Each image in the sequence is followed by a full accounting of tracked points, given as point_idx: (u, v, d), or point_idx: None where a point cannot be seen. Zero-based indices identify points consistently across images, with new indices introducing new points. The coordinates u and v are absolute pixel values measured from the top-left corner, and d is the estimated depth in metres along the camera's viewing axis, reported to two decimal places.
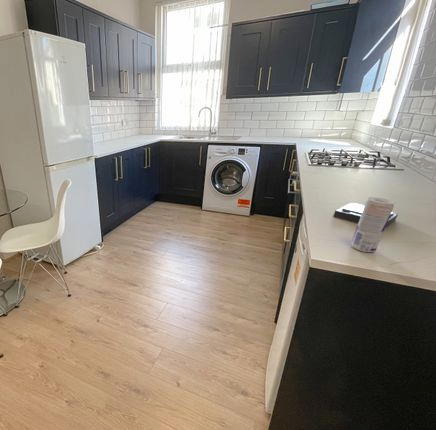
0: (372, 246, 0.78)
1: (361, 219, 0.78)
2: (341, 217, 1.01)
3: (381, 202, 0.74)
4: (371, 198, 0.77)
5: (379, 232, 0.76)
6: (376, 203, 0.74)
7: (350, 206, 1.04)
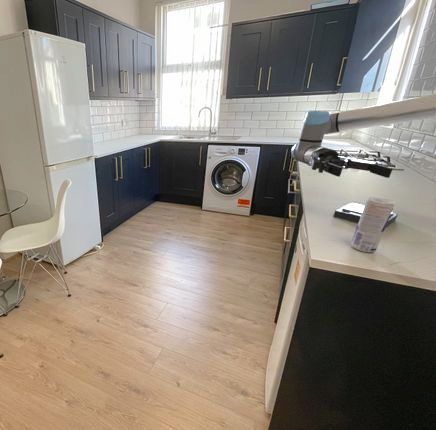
0: (372, 246, 0.78)
1: (361, 219, 0.78)
2: (341, 217, 1.01)
3: (381, 202, 0.74)
4: (371, 198, 0.77)
5: (379, 232, 0.76)
6: (376, 203, 0.74)
7: (350, 206, 1.04)
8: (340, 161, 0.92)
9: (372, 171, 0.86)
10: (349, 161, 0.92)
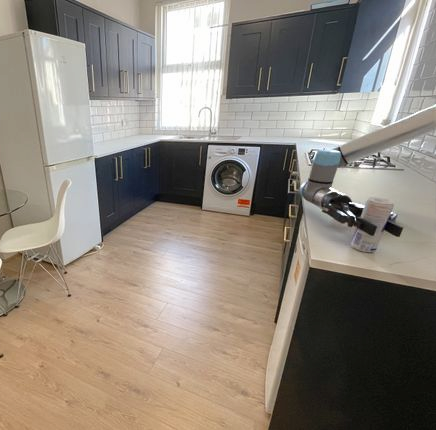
0: (372, 246, 0.78)
1: None
2: None
3: (381, 202, 0.74)
4: (371, 198, 0.77)
5: (379, 232, 0.76)
6: (376, 203, 0.74)
7: None
8: (353, 209, 0.86)
9: None
10: (359, 210, 0.85)
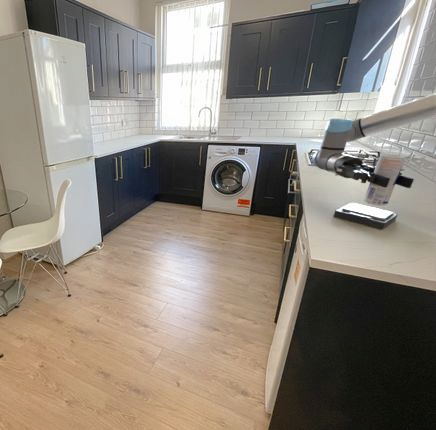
0: (384, 199, 0.84)
1: None
2: (341, 217, 1.01)
3: (393, 157, 0.81)
4: (383, 154, 0.84)
5: (391, 185, 0.83)
6: (388, 158, 0.81)
7: (350, 206, 1.04)
8: (365, 169, 0.92)
9: None
10: (371, 169, 0.91)
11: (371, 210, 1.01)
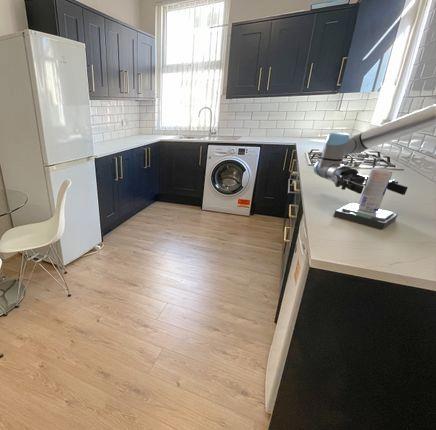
0: (375, 207, 0.97)
1: (366, 185, 0.98)
2: (341, 217, 1.01)
3: (382, 170, 0.94)
4: (374, 168, 0.97)
5: (381, 195, 0.96)
6: (378, 171, 0.94)
7: (350, 206, 1.04)
8: (360, 179, 1.05)
9: (389, 188, 0.99)
10: None
11: None
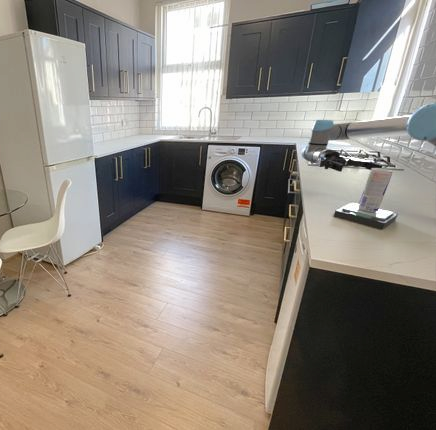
0: (375, 207, 0.97)
1: (366, 185, 0.98)
2: (341, 217, 1.01)
3: (382, 170, 0.94)
4: (374, 168, 0.97)
5: (381, 195, 0.96)
6: (378, 171, 0.94)
7: (350, 206, 1.04)
8: (342, 160, 1.16)
9: (367, 167, 1.10)
10: (349, 160, 1.15)
11: None
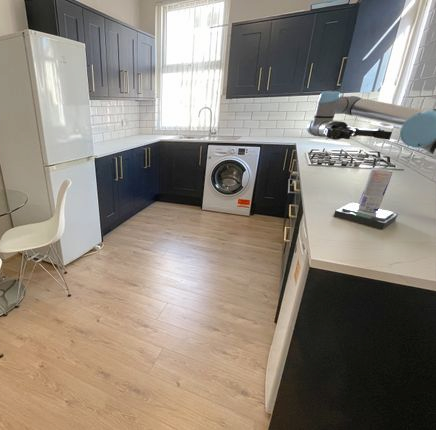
0: (375, 207, 0.97)
1: (366, 185, 0.98)
2: (341, 217, 1.01)
3: (382, 170, 0.94)
4: (374, 168, 0.97)
5: (381, 195, 0.96)
6: (378, 171, 0.94)
7: (350, 206, 1.04)
8: (349, 130, 1.13)
9: (376, 136, 1.07)
10: (357, 130, 1.12)
11: None
